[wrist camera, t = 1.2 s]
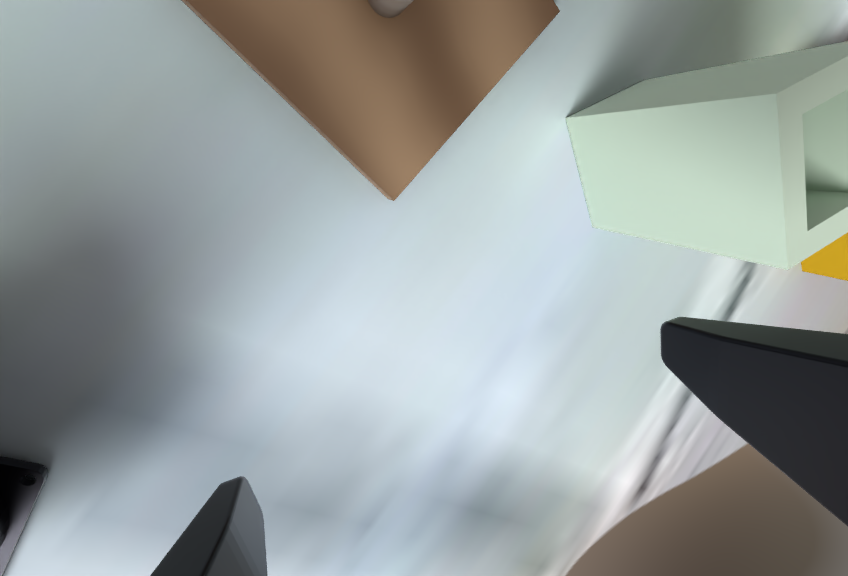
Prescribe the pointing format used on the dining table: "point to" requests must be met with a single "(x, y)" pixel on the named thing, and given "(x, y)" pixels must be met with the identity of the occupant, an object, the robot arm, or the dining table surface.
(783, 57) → the sleeve
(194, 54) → the dining table surface
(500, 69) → the peg stand
